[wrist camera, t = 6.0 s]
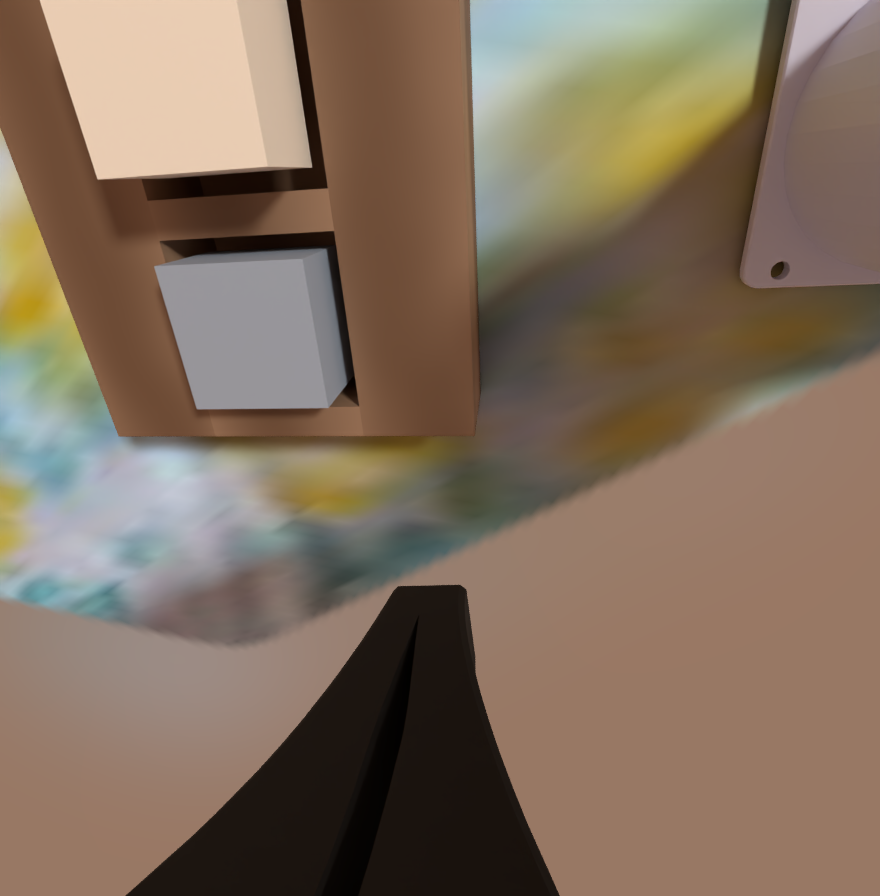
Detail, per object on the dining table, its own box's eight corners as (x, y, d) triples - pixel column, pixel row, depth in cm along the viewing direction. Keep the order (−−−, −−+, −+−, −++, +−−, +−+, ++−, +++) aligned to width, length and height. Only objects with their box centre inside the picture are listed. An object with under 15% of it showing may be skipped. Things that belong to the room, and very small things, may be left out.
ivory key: (280, -35, 12) (219, -90, 9) (312, 167, 14) (267, 166, 11) (119, -14, 12) (19, -61, 10) (170, 178, 14) (97, 179, 12)
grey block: (335, 244, 15) (302, 258, 13) (354, 374, 17) (328, 407, 15) (209, 251, 16) (154, 266, 13) (240, 376, 18) (196, 409, 15)
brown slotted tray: (455, -505, 10) (431, -790, 7) (480, 393, 19) (474, 435, 16) (-66, -375, 12) (-266, -565, 9) (177, 397, 21) (118, 436, 18)
